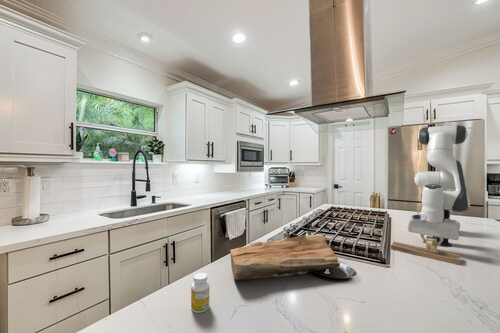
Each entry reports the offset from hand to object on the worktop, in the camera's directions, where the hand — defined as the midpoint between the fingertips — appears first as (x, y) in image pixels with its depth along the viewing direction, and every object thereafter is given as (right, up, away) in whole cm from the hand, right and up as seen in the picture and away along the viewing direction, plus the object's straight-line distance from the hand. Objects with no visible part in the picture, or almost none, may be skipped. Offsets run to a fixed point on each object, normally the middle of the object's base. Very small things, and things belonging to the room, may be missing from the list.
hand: (431, 244), depth 115 cm
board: (-7, -4, -3) cm, 8 cm away
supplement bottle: (-106, -4, -46) cm, 116 cm away
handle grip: (+14, -4, +11) cm, 18 cm away
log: (-78, -4, -24) cm, 81 cm away
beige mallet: (-3, -3, -3) cm, 5 cm away
